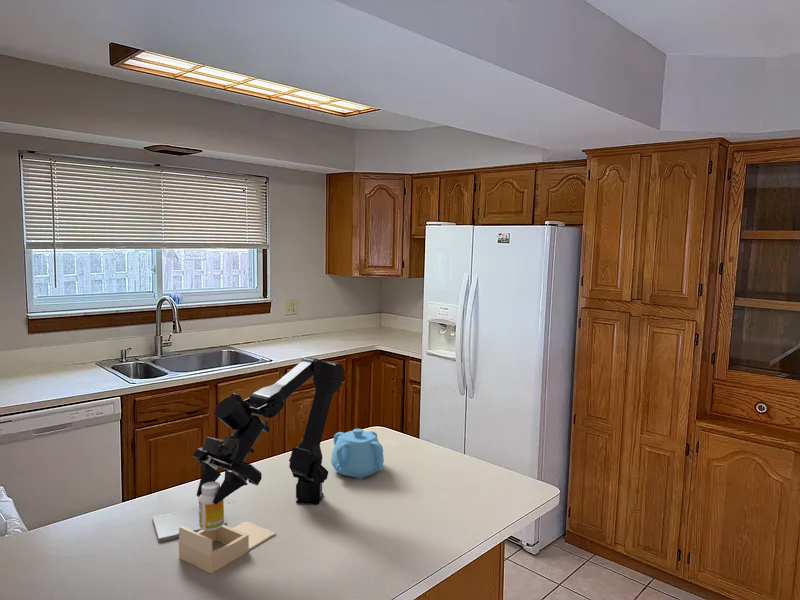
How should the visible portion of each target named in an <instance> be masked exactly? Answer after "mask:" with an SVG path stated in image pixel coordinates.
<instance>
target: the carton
mask: <svg viewBox="0 0 800 600" xmlns="http://www.w3.org/2000/svg"><path fill="white" fill-rule="evenodd" d="M275 535H276V532H274V531H272V530H270V529H267V528H264V527H262V526H259V525H257V524H254V523H252V522H250V521H244V522H242V523H240V524H238V525H236V526H234V527H230V526H228V525H227V526H226V525H223V526H222V527H220V528H219V529H216V530H211V531H206V530H200V531H198V532H194V531H192V530H190V529H187V528H185V527H183V526H180V527H179V538H178V539H179V540H178V558H179V559H180V560H182V561H183V562H186V563H187V564H190V565H192V566H194V567H197V568H199V569H201V570H202V571H205V572H207V573H209V574H213V573H215V572H216V571H218V570H220V569H222V568H223V567H225V566H227V565H228V564H230V563H231V562H234V561H235V560H236V559H238V558H240V557H241V556H243V555H244V554H246V553H249V551H250V550H252V549H254V548H255V547H257V546H259V545H260V544H262V543H263V542H265V541H267V540H269V539H271V538H272V537H274V536H275ZM215 542H220V543H222V544H224V546H221V547H220V548H218V549H216V550H214V549H213V543H215ZM213 550H214V551H213Z"/></svg>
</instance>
